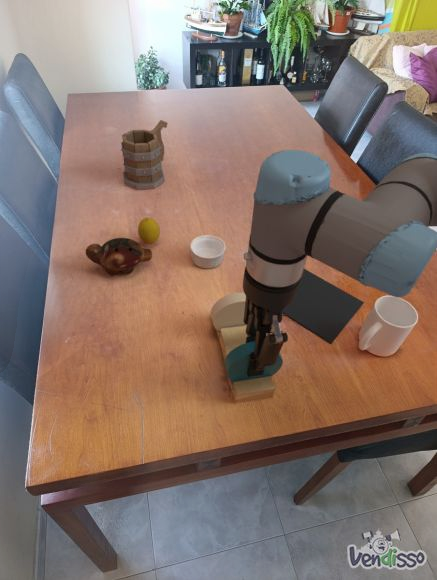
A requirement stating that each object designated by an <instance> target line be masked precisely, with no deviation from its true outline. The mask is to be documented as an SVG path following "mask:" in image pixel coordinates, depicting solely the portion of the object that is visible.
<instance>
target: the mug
mask: <svg viewBox="0 0 437 580" xmlns="http://www.w3.org/2000/svg"><path fill="white" fill-rule="evenodd" d="M418 320H419V315H418V311H417V309H416V308H415V306H413V304H411V303H410V302H409V301H407V300H405V299H403V297H393V296H391V295H383V296H380V297H379V298H377V299H376V300H375V302H374V303H373V305H372V307H371V309H370V311H369V313H368V315H367V317H366V319H365V320H364V322H363V324H362V326H361V327H360V330H359V333H358V338H359V342H358V348H359V350H361V351H365V350H366V351H367V352H369V353H370V354H373V356H374V355H375V356H377V357H389V356H392V355H394V354H395V353H396V352H397V351H398V350H399V349H400V347H401V346H402V345H403V343H404V342H405V340H406V338H407V337H408V336H409V335H410V333H411V332H412V330H413V329H414V327H415V326H416V324H418Z"/></svg>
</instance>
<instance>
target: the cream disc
mask: <svg viewBox="0 0 437 580" xmlns="http://www.w3.org/2000/svg"><path fill="white" fill-rule="evenodd" d="M245 301H246V295H245V293H244V291H243V292H233V293H229V294H226V295H224V296H222V297H220V298H219V299H218V300H217V301H216V302H215V303H214V304H213V305H212V307H211V310H210V316H211V320H212V325H213V327H214V329H215V330H216V329H217V330H218V331H220V329H221V328H229V327H237V326H245V324H244V321H243V320H244V311H245ZM246 325H247V324H246Z"/></svg>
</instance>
